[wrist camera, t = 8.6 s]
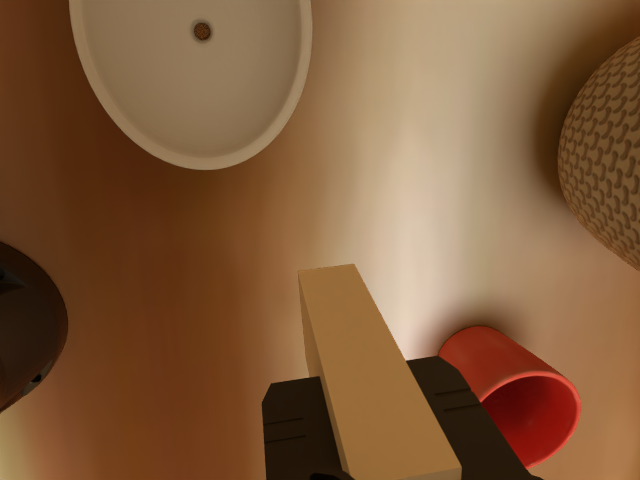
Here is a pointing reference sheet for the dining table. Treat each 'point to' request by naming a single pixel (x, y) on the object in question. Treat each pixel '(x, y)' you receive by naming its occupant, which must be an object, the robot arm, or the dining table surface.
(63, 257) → the dining table surface
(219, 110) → the dish
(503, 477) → the robot arm
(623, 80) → the planter
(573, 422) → the flower pot
